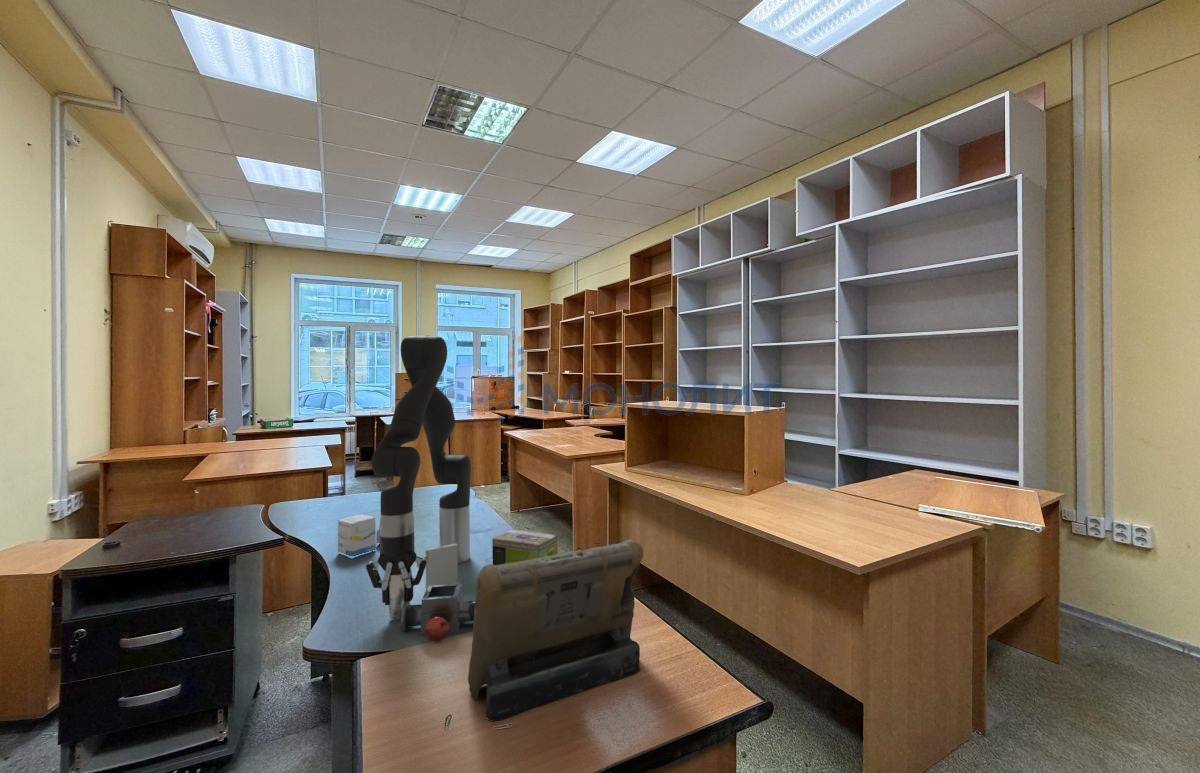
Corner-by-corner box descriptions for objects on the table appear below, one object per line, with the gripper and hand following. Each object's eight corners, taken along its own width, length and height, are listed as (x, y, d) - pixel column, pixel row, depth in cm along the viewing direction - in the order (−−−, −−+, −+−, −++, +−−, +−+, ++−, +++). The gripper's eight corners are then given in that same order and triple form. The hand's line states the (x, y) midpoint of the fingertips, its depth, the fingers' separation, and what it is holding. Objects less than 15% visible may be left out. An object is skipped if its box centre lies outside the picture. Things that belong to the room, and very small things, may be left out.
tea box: (559, 588, 129) (558, 533, 129) (539, 603, 120) (539, 545, 120) (513, 579, 135) (513, 527, 135) (491, 593, 126) (491, 537, 126)
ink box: (376, 551, 158) (376, 517, 158) (351, 559, 151) (351, 523, 151) (361, 547, 163) (361, 513, 163) (337, 554, 156) (336, 519, 156)
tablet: (611, 637, 103) (610, 523, 103) (651, 669, 92) (651, 540, 92) (462, 690, 86) (462, 552, 86) (489, 738, 74) (488, 578, 74)
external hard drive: (458, 590, 127) (457, 544, 127) (426, 598, 123) (426, 550, 123) (456, 588, 129) (456, 543, 129) (425, 596, 124) (424, 548, 124)
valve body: (408, 620, 111) (408, 586, 111) (481, 614, 114) (481, 581, 114) (395, 647, 100) (395, 609, 100) (477, 640, 102) (476, 603, 102)
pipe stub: (391, 611, 114) (391, 569, 113) (409, 609, 114) (408, 568, 114) (386, 619, 110) (386, 576, 110) (405, 617, 110) (404, 575, 110)
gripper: (431, 524, 117) (432, 593, 117) (370, 527, 114) (370, 598, 114) (425, 534, 109) (426, 608, 109) (359, 537, 107) (360, 613, 107)
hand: (397, 602), depth 112 cm, fingers closed on pipe stub, 4 cm apart
